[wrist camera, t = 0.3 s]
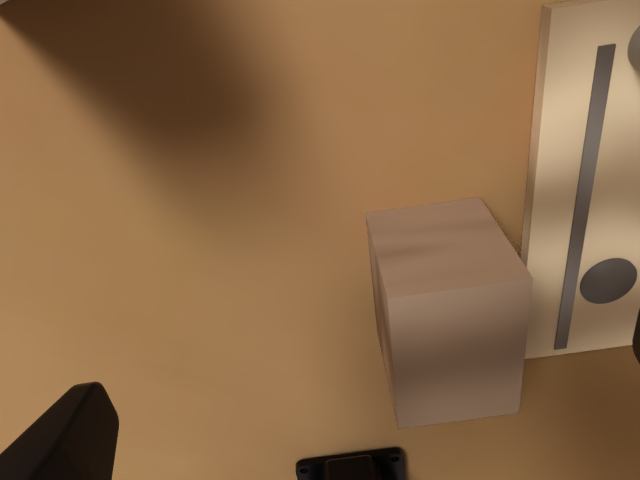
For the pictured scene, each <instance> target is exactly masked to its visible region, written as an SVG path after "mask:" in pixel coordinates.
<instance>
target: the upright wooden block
mask: <svg viewBox="0 0 640 480" xmlns="http://www.w3.org/2000/svg"><path fill="white" fill-rule="evenodd" d="M366 223H367V233H368V243H369V253H370V263H371V273H372V283H373V293H374V303H375V313H376V323H377V332H378V337H379V341H380V346H381V351H382V355H383V360H384V365H385V369H386V374H387V379H388V383H389V388H390V393H391V397H392V402H393V407H394V412H395V416H396V421H397V426H398V429H403V428H410V427H418V426H425V425H433V424H440V423H448V422H455V421H463V420H470V419H478V418H485V417H493V416H500V415H508V414H515V413H519V407H520V398H521V389H522V379H523V370H524V361H525V351H526V342H527V333H528V323H529V314H530V305H531V295H532V286H533V277H532V276H531V274H530V273H529V271H528V269H527V268H526V266H525V265H524V263H523V262H522V260H521V259H520V257H519V256H518V254H517V253H516V251H515V250H514V248H513V247H512V245H511V244H510V242H509V241H508V239H507V238H506V236H505V234H504V233H503V231H502V230H501V228H500V227H499V225H498V224H497V222H496V221H495V219H494V218H493V216H492V215H491V213H490V212H489V210H488V209H487V207H486V206H485V204H484V203H483V201H482V200H481V198H480V197H475V198H468V199H461V200H454V201H447V202H440V203H433V204H426V205H419V206H412V207H405V208H398V209H391V210H384V211H377V212H370V213H366Z"/></svg>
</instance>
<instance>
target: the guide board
mask: <svg viewBox="0 0 640 480" xmlns="http://www.w3.org/2000/svg"><path fill="white" fill-rule="evenodd" d="M520 259H521V260H522V262H523V263H524V265H525V266H526V268H527V269H528V271H529V273H530V274H531V276H532V277H533V286H532V295H531V305H530V314H529V323H528V333H527V342H526V351H525V359H531V358H538V357H546V356H553V355H561V354H568V353H576V352H583V351H590V350H598V349H605V348H613V347H620V346H628V345H632V339H633V334H634V330H635V325H636V321H637V316H638V311H639V308H640V0H573V1H566V2H560V3H553V4H547V5H542V16H541V28H540V39H539V50H538V62H537V73H536V85H535V96H534V108H533V119H532V130H531V142H530V153H529V165H528V176H527V188H526V199H525V210H524V222H523V233H522V245H521V256H520Z"/></svg>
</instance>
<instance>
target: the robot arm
mask: <svg viewBox="0 0 640 480" xmlns="http://www.w3.org/2000/svg"><path fill="white" fill-rule="evenodd" d="M632 346H633V351H634V354H635V356H636V358H637V360H638V362H639V364H640V308H639V311H638V316H637V321H636V325H635V330H634V334H633V339H632ZM118 430H119V419H118V415H117V412H116V410H115V408H114V406H113V404H112V402H111V400H110V398H109V396H108V394H107V392H106V390H105V388H104V387H103V385H102V384H101V383H99V382H90V383H83V384H77V385H74V386H73V387H72V388H70V389H69V390H68V391H67V392H66V393H65V394H64V395H63V396H62V397H61V398H60V399H58V400H57V401H56V402H55V403H54V404H53V405H52V406H51V407H50V408H49V409H48V410H47V411H46V412H45V413H44V414H42V415H41V416H40V417H39V418H38V419H37V420H36V421H35V422H34V423H33V424H32V425H31V426H30V427H29V428H28V429H27V430H25V431H24V432H23V433H22V434H21V435H20V436H19V437H18V438H17V439H16V440H15V441H14V442H13V443H12V444H11V445H10V446H8V447H7V448H6V449H5V450H4V451H3V452H2V453H1V454H0V480H112V473H113V465H114V458H115V451H116V444H117V437H118ZM296 475H297V479H298V480H405V471H404V458H403V453H402V450H400V449H398V448H391V449H383V450H376V451H368V452H360V453H353V454H345V455H337V456H329V457H322V458H314V459H306V460H301V461H298V462H297V463H296Z"/></svg>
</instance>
